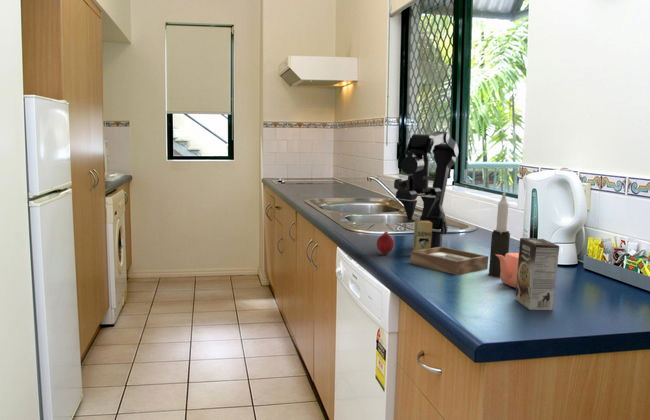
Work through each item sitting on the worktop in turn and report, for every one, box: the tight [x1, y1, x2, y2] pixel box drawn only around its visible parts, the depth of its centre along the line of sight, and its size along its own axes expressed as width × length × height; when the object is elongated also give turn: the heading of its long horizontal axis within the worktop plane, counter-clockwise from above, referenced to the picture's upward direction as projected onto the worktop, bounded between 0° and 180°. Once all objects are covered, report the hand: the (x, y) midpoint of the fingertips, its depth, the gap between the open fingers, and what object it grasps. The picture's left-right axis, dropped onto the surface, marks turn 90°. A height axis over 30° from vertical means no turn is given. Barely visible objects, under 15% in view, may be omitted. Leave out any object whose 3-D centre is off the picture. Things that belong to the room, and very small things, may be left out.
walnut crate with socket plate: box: [409, 246, 489, 276], centre depth 194 cm, size 16×18×4 cm
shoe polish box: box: [412, 219, 432, 251], centre depth 207 cm, size 5×5×12 cm
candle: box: [488, 192, 511, 278], centre depth 183 cm, size 5×5×25 cm
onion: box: [376, 231, 395, 255], centre depth 208 cm, size 6×6×8 cm
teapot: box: [496, 252, 519, 289], centre depth 170 cm, size 12×18×10 cm, turn 107°
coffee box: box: [514, 237, 560, 311], centre depth 152 cm, size 9×6×16 cm
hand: (417, 218), depth 206 cm, fingers open, 9 cm apart
